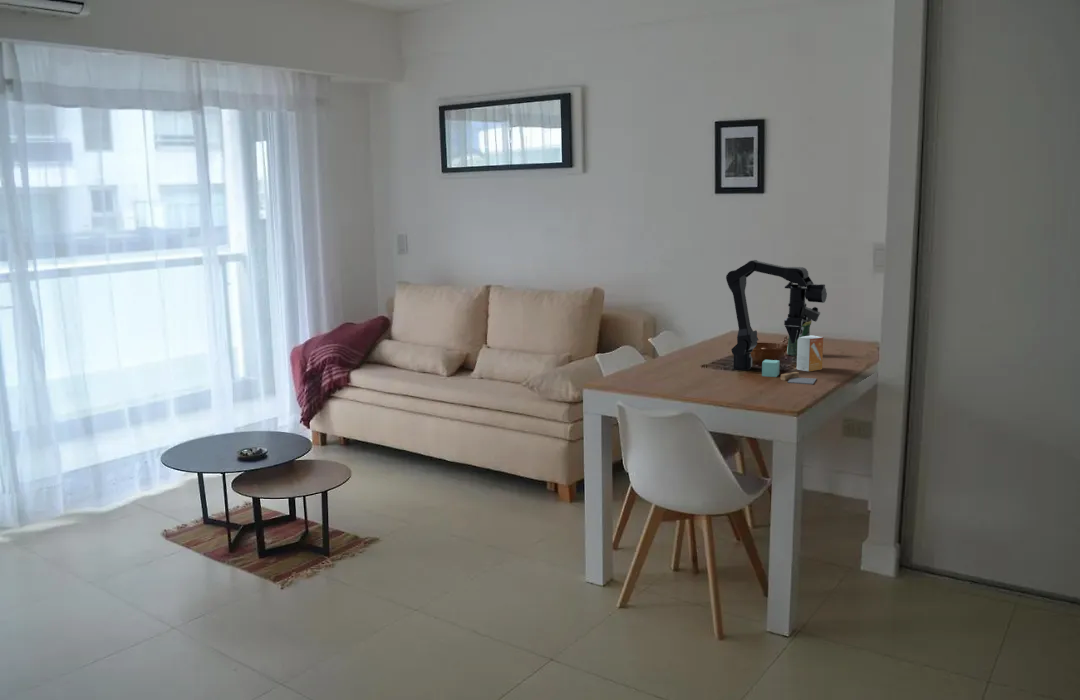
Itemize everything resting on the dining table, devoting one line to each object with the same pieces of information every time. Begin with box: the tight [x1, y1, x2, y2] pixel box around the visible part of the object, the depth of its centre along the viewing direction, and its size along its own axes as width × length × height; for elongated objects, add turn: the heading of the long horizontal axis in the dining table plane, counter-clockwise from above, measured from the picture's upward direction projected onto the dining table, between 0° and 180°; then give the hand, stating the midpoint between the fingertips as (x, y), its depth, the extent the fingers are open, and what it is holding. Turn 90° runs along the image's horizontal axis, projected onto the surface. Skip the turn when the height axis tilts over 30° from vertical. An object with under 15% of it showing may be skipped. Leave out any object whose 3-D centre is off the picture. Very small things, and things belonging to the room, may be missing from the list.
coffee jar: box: [786, 318, 812, 357], centre depth 382 cm, size 10×8×19 cm
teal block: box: [761, 359, 781, 378], centre depth 344 cm, size 6×6×6 cm
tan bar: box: [780, 371, 800, 382], centre depth 337 cm, size 8×2×2 cm, turn 125°
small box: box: [796, 334, 824, 372], centre depth 353 cm, size 8×6×13 cm
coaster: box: [787, 376, 817, 385], centre depth 332 cm, size 9×9×1 cm
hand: (795, 341), depth 343 cm, fingers open, 9 cm apart
